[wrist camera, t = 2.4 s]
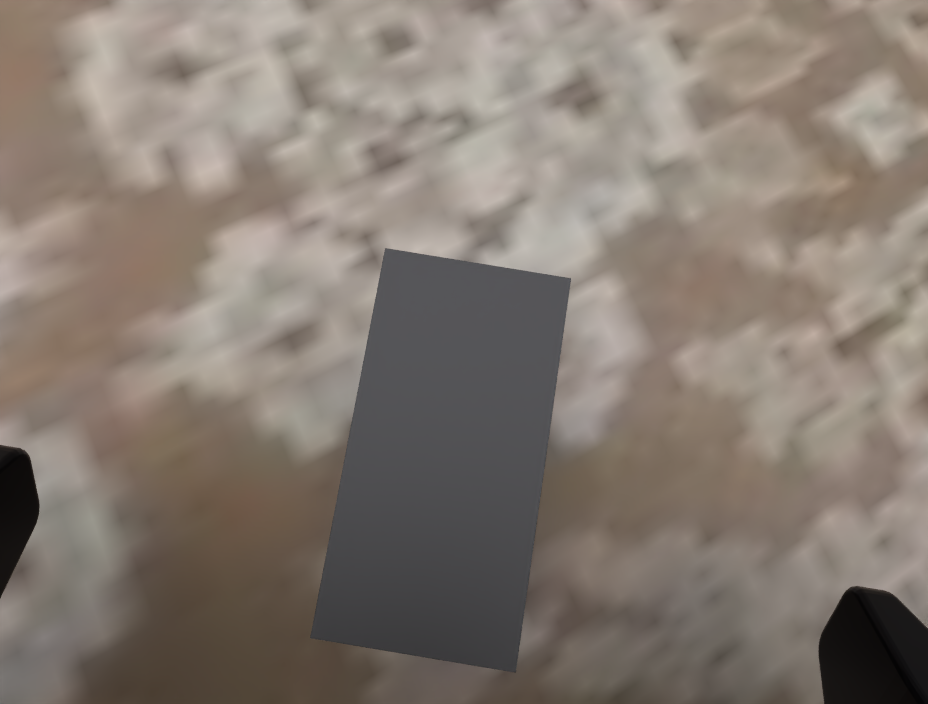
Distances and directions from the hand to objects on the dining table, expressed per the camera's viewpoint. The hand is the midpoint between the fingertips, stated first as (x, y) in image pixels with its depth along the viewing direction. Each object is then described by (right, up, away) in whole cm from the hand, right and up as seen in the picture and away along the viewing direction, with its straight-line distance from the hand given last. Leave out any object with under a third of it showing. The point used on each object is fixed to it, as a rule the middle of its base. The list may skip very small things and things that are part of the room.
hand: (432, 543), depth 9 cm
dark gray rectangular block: (0, -1, +9) cm, 9 cm away
